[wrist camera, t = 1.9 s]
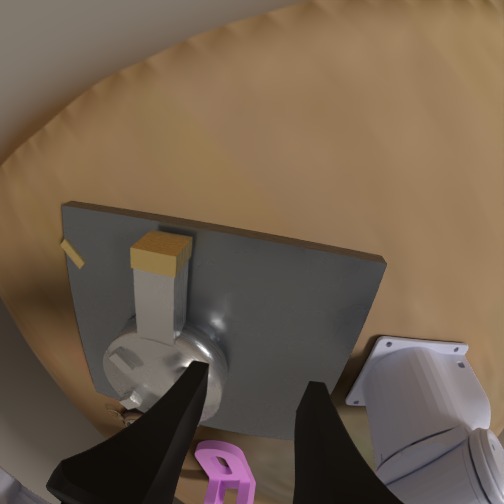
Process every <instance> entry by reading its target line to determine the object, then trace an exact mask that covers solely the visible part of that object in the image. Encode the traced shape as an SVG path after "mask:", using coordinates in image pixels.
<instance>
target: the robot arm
mask: <svg viewBox="0 0 504 504" xmlns="http://www.w3.org/2000/svg"><path fill="white" fill-rule="evenodd" d="M388 342H390V343H389V344H387V343H388ZM467 350H468V345H467V344H466V343H455V342H441V341H429V340H418V339H408V338H399V337H389V336H381V337H379V338H378V339H377V341H376V343H375V345H374V347H373V349H372V351H371V353H370V355H369V357H368V359H367V361H366V363H365V365H364V366H363V368H362V370H361V372H360V374H359V376H358V378H357V380H356V381H355V383H354V385H353V387H352V389H351V390H350V392H349V394H348V396H347V397H346V399H345V402H346V404H347V405H355V406H366V411H367V416H368V422H369V428H370V433H371V439H372V446H373V452H374V459H375V466H376V473H374V472H373V471H372V469H371V468H370V467H369V465H368V464H367V463H366V461H365V460H364V458H363V457H362V456H361V454H360V453H359V451H358V449H357V448H356V446H355V444H354V443H353V441H352V439H351V438H350V436H349V434H348V432H347V430H346V428H345V426H344V424H343V422H342V420H341V418H340V416H339V414H338V412H337V410H336V408H335V405H334V403H333V401H332V399H331V396H330V394H329V391H328V389H327V386H326V384H325V383H324V382H316V381H309V383H308V385H307V388H306V390H305V392H304V395H303V397H302V399H301V401H300V403H299V406H298V408H297V410H296V419H295V429H294V445H295V489H294V498H293V504H504V450H503V448H502V446H501V444H500V442H499V440H498V439H497V437H496V436H495V435H494V433H493V432H492V431H491V430H489V429H488V428H489V425H490V417H491V411H490V404H489V401H488V398H487V396H486V394H485V392H484V390H483V388H482V386H481V384H480V382H479V381H478V379H477V377H476V375H475V373H474V371H473V370H472V368H471V366H470V364H469V363H468V361H467V359H466V357H465V356H464V355H465V354H466V352H467ZM208 375H209V363H205V362H201V361H197V360H193V361H191V363H190V364H189V366H188V367H187V368H186V370H185V371H184V372H183V374H182V375H181V376H180V377H179V379H178V380H177V381H176V382H175V383H174V384H173V386H172V387H171V388H170V389H169V390H168V391H167V392H166V393H165V394H164V395H163V396H162V397H161V398H160V399H159V400H158V401H157V402H156V403H155V404H154V405H153V406H152V407H151V408H150V409H149V410H148V411H146V412H145V413H144V414H143V415H142V416H141V417H139V418H138V419H137V420H135V421H134V422H133V423H132V424H130V425H129V426H127V427H126V428H125V429H123V430H122V431H120V432H119V433H117V434H116V435H114V436H112V437H111V438H109V439H107V440H106V441H104V442H102V443H100V444H98V445H96V446H94V447H92V448H91V449H89V450H87V451H84V452H82V453H79V454H77V455H74V456H72V457H70V458H67V459H64V460H62V461H61V462H60V464H59V465H58V466H57V467H56V469H55V470H54V471H53V473H52V475H51V477H50V479H49V480H48V482H47V484H46V488H47V490H48V491H49V492H50V493H52V494H53V495H54V496H55V497H56V498H57V499H59V500H60V501H61V504H172V502H173V498H174V494H175V490H176V486H177V483H178V479H179V475H180V472H181V468H182V465H183V462H184V459H185V456H186V454H187V451H188V449H189V446H190V444H191V441H192V439H193V436H194V434H195V431H196V429H197V426H198V423H199V421H200V418H201V415H202V411H203V408H204V404H205V400H206V396H207V386H208ZM0 504H51V503H49V502H47V501H46V500H44V499H42V498H41V497H39V496H38V495H36V494H35V493H33V492H32V491H30V490H29V489H27V488H26V487H24V486H23V485H22V484H21V483H20V482H19V481H18V480H17V479H15V478H14V477H13V476H12V475H11V474H9V473H8V472H6V471H5V470H4V469H3V468H1V467H0Z"/></svg>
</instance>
